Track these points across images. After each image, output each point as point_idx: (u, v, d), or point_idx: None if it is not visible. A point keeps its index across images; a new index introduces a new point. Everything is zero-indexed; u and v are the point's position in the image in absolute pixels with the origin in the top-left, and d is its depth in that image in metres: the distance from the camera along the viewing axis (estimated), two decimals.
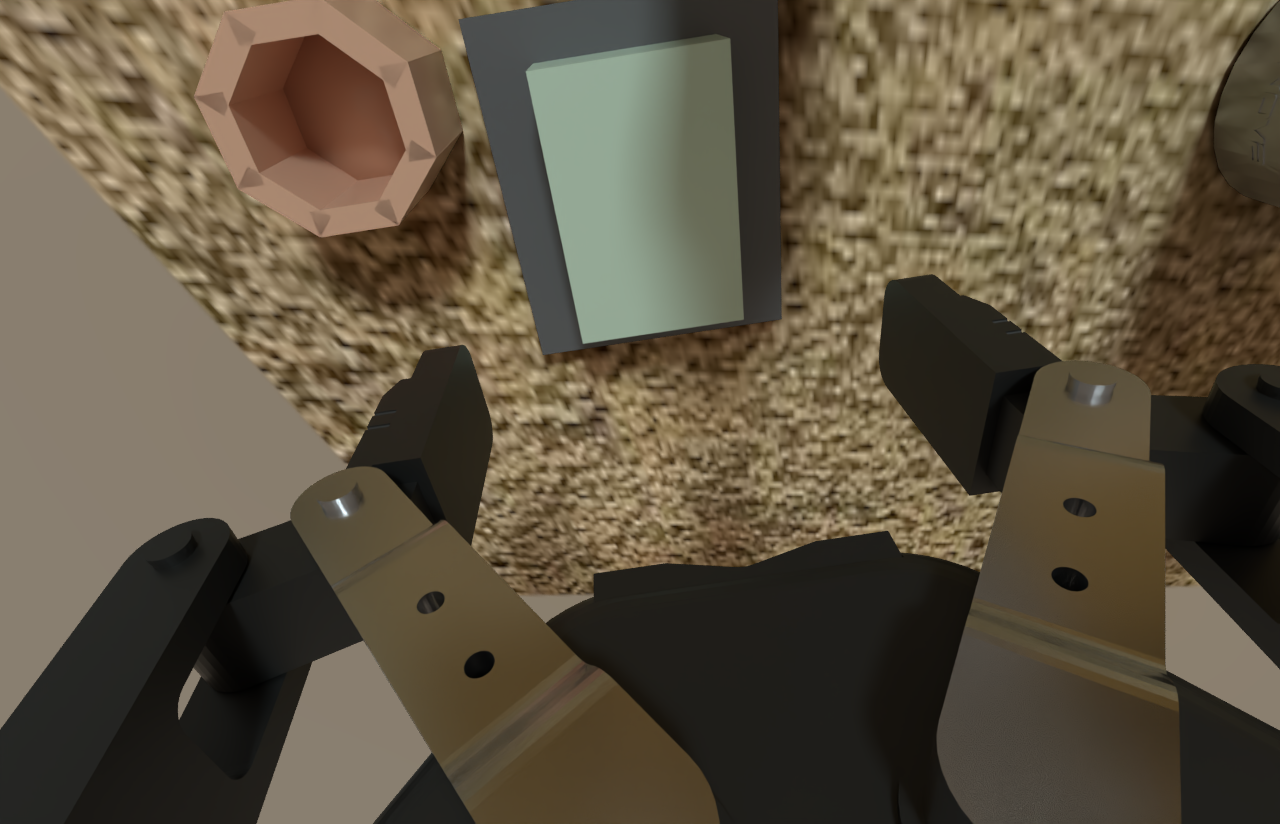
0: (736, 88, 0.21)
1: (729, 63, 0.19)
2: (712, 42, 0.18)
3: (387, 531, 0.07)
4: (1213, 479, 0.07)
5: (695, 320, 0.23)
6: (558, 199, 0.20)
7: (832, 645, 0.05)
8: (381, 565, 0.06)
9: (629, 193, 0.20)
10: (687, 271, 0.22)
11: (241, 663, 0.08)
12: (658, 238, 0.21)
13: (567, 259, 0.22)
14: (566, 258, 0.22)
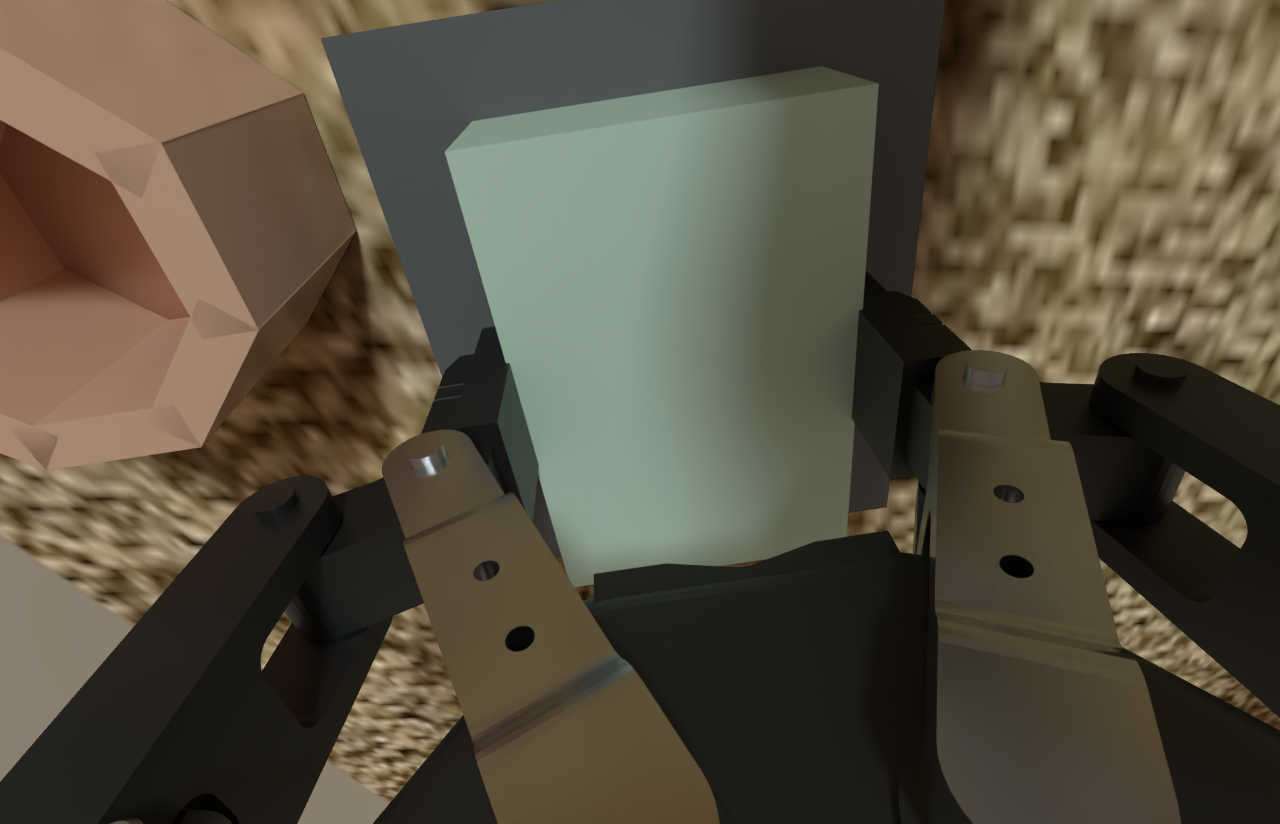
0: None
1: (870, 133, 0.09)
2: (840, 92, 0.09)
3: (479, 485, 0.08)
4: (1095, 460, 0.08)
5: (764, 551, 0.13)
6: (521, 380, 0.11)
7: (832, 645, 0.05)
8: (448, 528, 0.06)
9: (656, 368, 0.11)
10: (755, 484, 0.12)
11: (326, 616, 0.08)
12: (708, 436, 0.12)
13: (541, 471, 0.12)
14: (539, 470, 0.12)
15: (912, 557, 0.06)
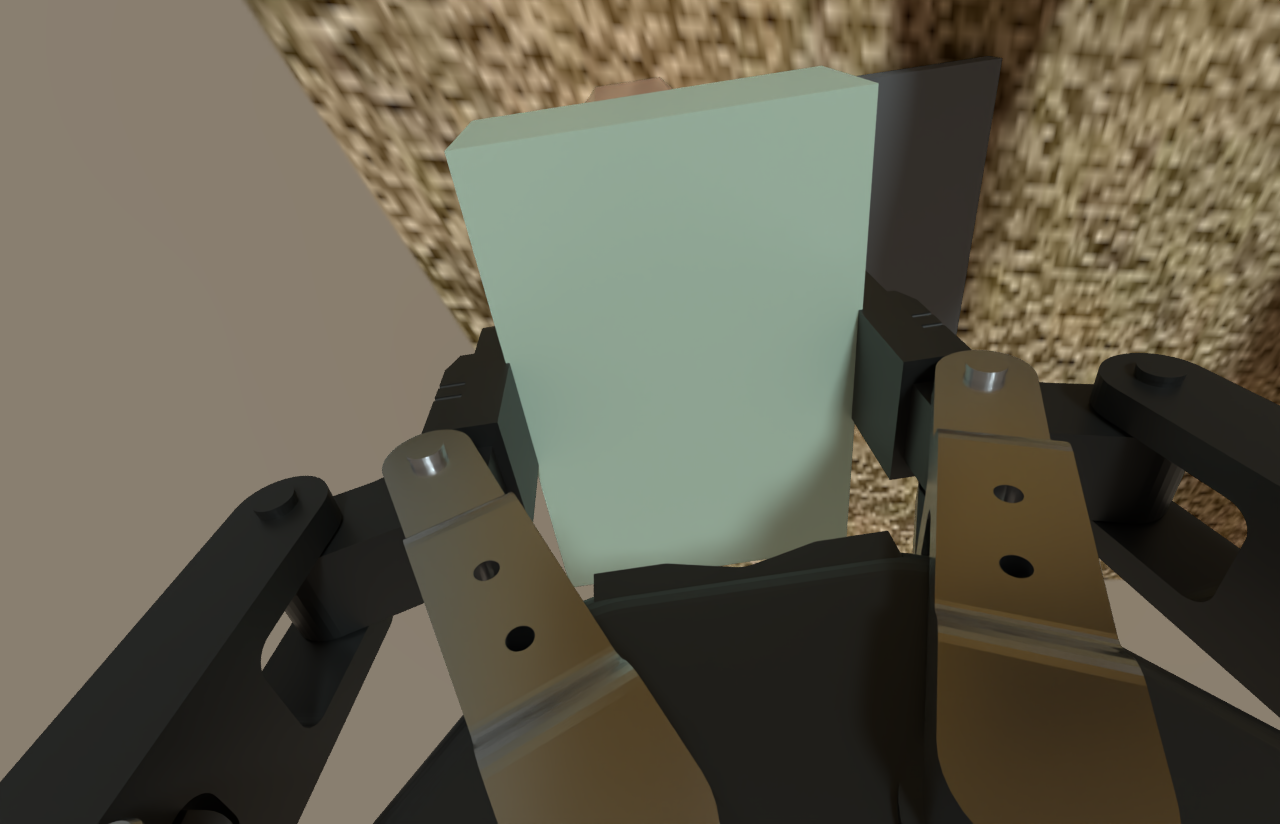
0: (952, 152, 0.25)
1: (870, 133, 0.09)
2: (840, 91, 0.09)
3: (479, 485, 0.08)
4: (1095, 460, 0.08)
5: (763, 551, 0.13)
6: (521, 380, 0.11)
7: (832, 645, 0.05)
8: (448, 527, 0.06)
9: (656, 367, 0.11)
10: (755, 483, 0.12)
11: (326, 616, 0.08)
12: (708, 436, 0.12)
13: (541, 471, 0.12)
14: (539, 470, 0.12)
15: (912, 557, 0.06)
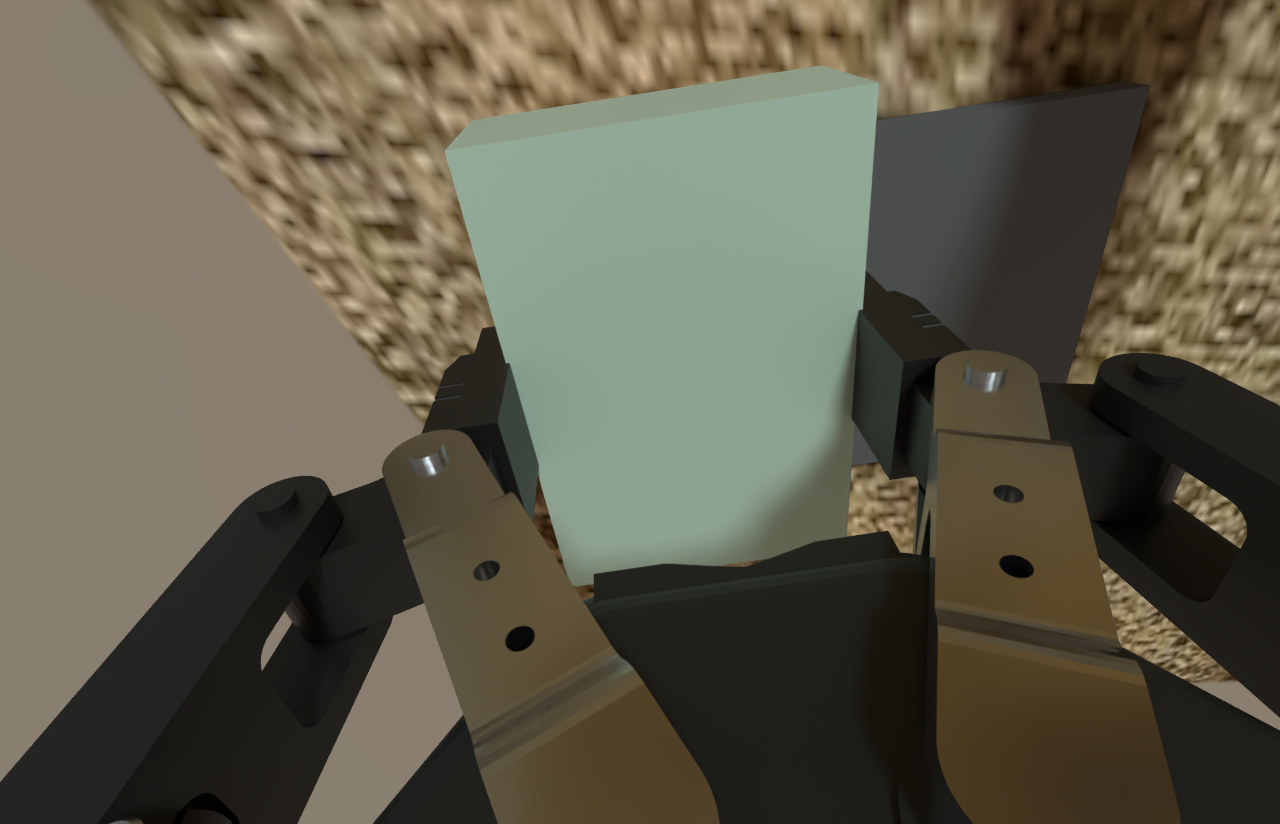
0: (1070, 209, 0.19)
1: (870, 133, 0.09)
2: (840, 91, 0.09)
3: (479, 485, 0.08)
4: (1095, 460, 0.08)
5: (763, 551, 0.13)
6: (521, 379, 0.11)
7: (832, 645, 0.05)
8: (448, 527, 0.06)
9: (656, 367, 0.11)
10: (755, 483, 0.12)
11: (326, 616, 0.08)
12: (708, 435, 0.12)
13: (541, 471, 0.12)
14: (539, 470, 0.12)
15: (912, 557, 0.06)
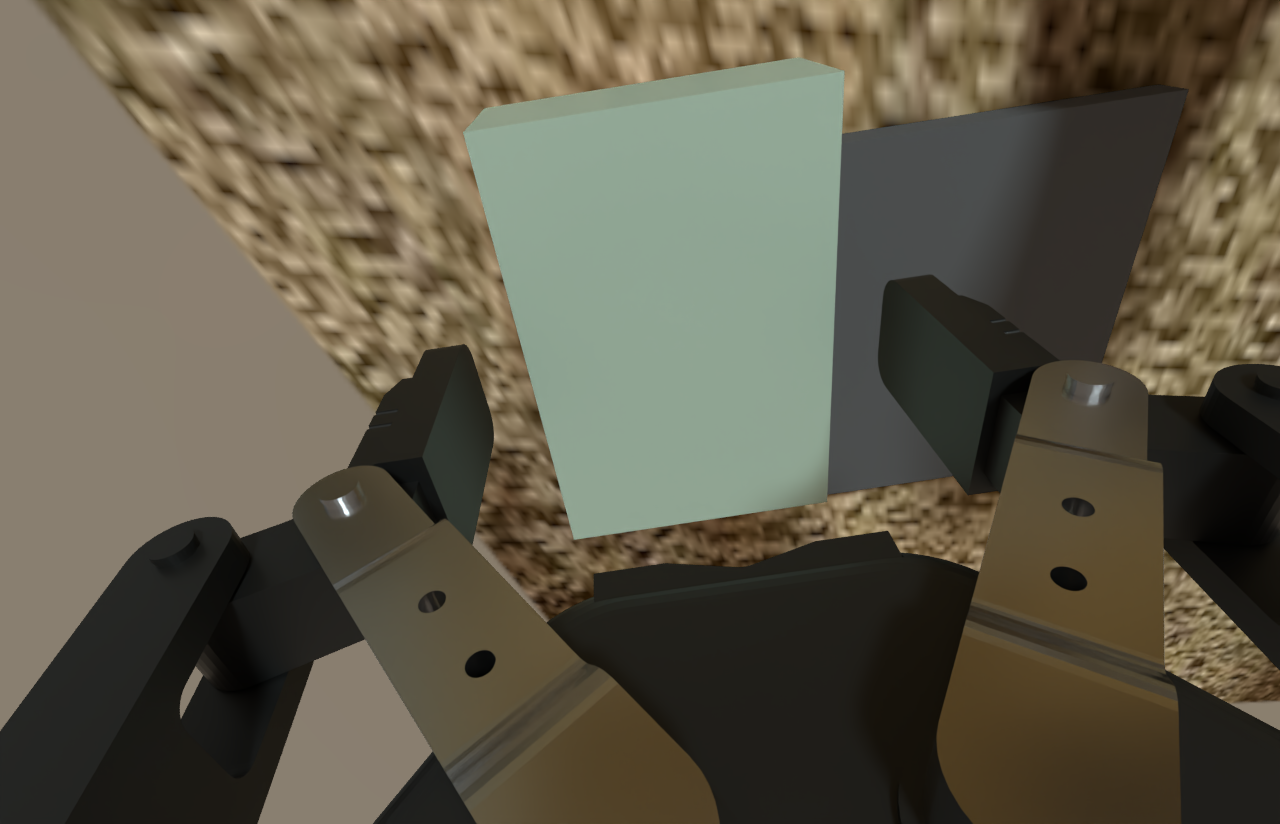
0: (1098, 221, 0.18)
1: (838, 115, 0.10)
2: (811, 78, 0.10)
3: (389, 530, 0.07)
4: (1210, 479, 0.07)
5: (751, 505, 0.15)
6: (530, 341, 0.12)
7: (832, 645, 0.05)
8: (382, 564, 0.06)
9: (651, 329, 0.12)
10: (742, 439, 0.14)
11: (243, 662, 0.08)
12: (698, 394, 0.13)
13: (547, 427, 0.13)
14: (545, 426, 0.13)
15: (912, 557, 0.06)
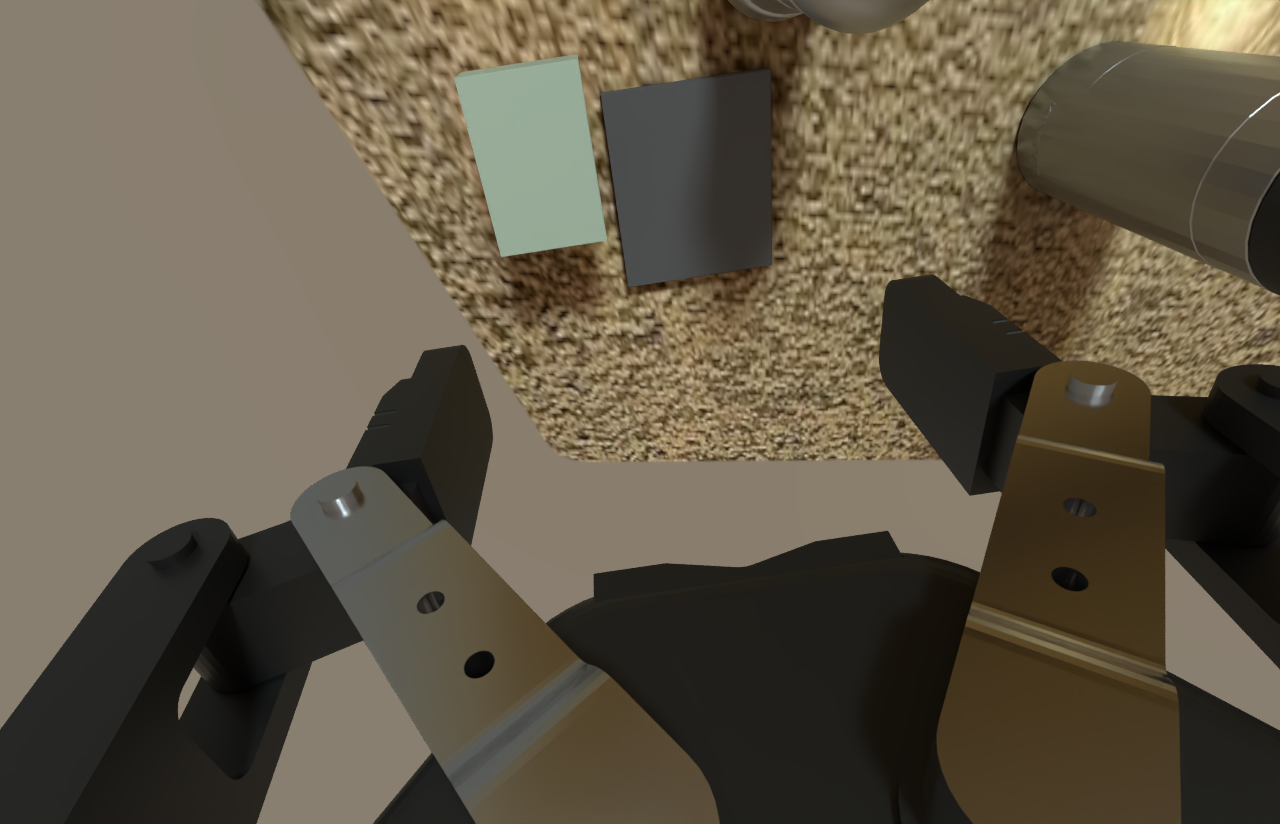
0: (748, 131, 0.38)
1: (579, 73, 0.31)
2: (567, 61, 0.30)
3: (387, 531, 0.07)
4: (1213, 479, 0.07)
5: (574, 240, 0.35)
6: (479, 158, 0.32)
7: (832, 645, 0.05)
8: (381, 565, 0.06)
9: (524, 154, 0.32)
10: (566, 206, 0.34)
11: (241, 663, 0.08)
12: (545, 184, 0.33)
13: (487, 198, 0.34)
14: (486, 197, 0.33)
15: (912, 557, 0.06)
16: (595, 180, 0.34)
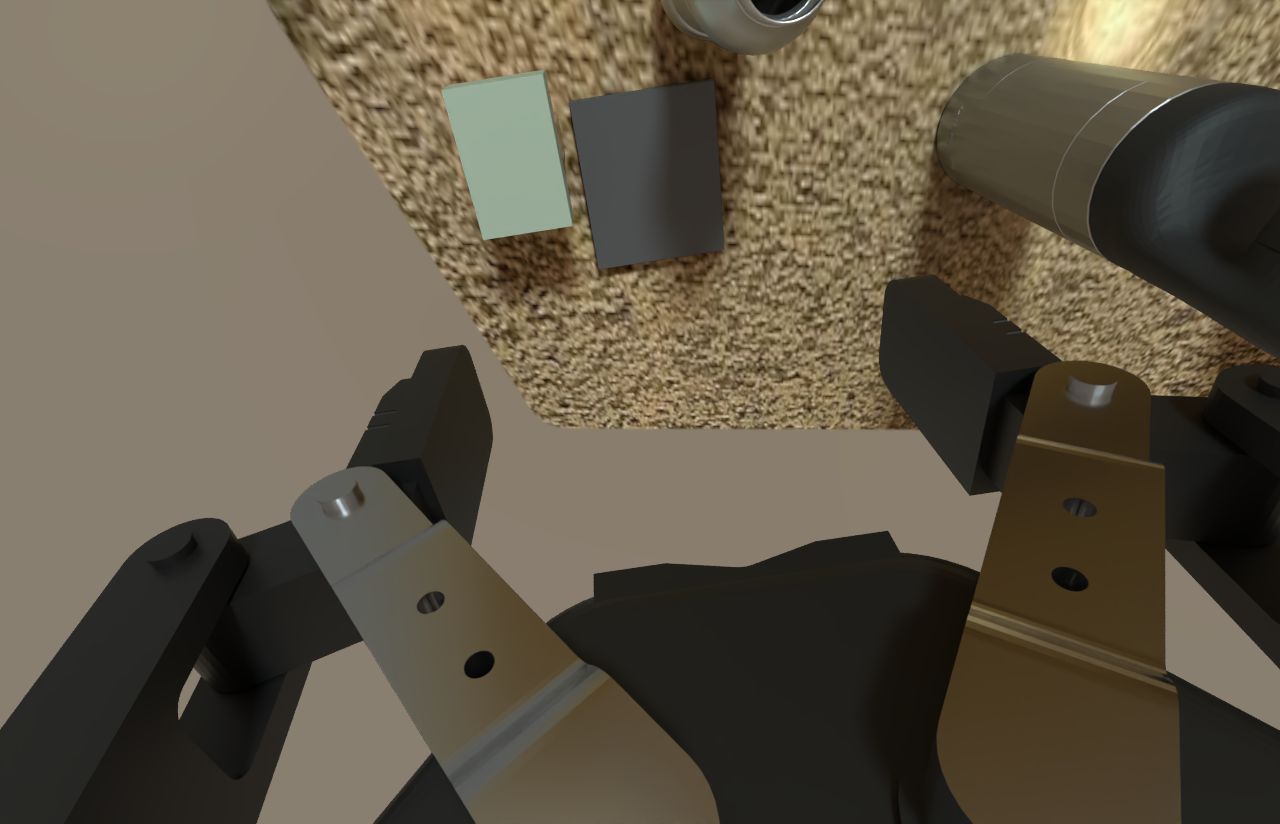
0: (697, 132, 0.45)
1: (544, 86, 0.37)
2: (533, 75, 0.37)
3: (387, 531, 0.07)
4: (1213, 479, 0.07)
5: (545, 226, 0.42)
6: (463, 156, 0.39)
7: (832, 645, 0.05)
8: (381, 566, 0.06)
9: (500, 153, 0.39)
10: (536, 197, 0.41)
11: (241, 663, 0.08)
12: (519, 178, 0.40)
13: (470, 190, 0.40)
14: (469, 189, 0.40)
15: (912, 557, 0.06)
16: (560, 174, 0.40)
